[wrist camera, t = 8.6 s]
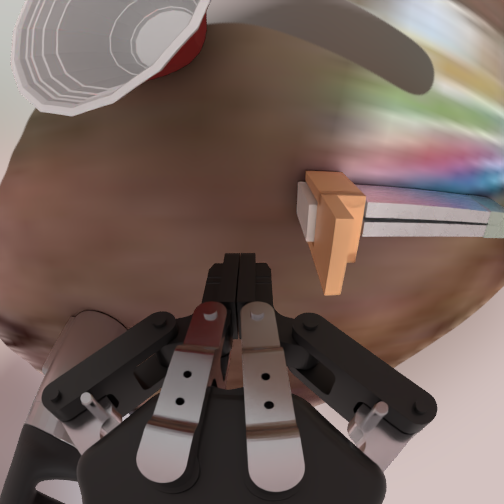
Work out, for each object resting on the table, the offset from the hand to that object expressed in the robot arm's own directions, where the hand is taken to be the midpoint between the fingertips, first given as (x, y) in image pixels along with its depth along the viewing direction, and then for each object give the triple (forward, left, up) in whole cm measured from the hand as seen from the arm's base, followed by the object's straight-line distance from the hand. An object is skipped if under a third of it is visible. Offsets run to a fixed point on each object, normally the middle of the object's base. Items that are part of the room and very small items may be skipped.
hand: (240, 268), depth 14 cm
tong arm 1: (+18, -1, -10) cm, 21 cm away
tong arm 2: (+18, +1, -10) cm, 21 cm away
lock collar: (+6, 0, -10) cm, 12 cm away
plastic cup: (-6, +14, -11) cm, 18 cm away
